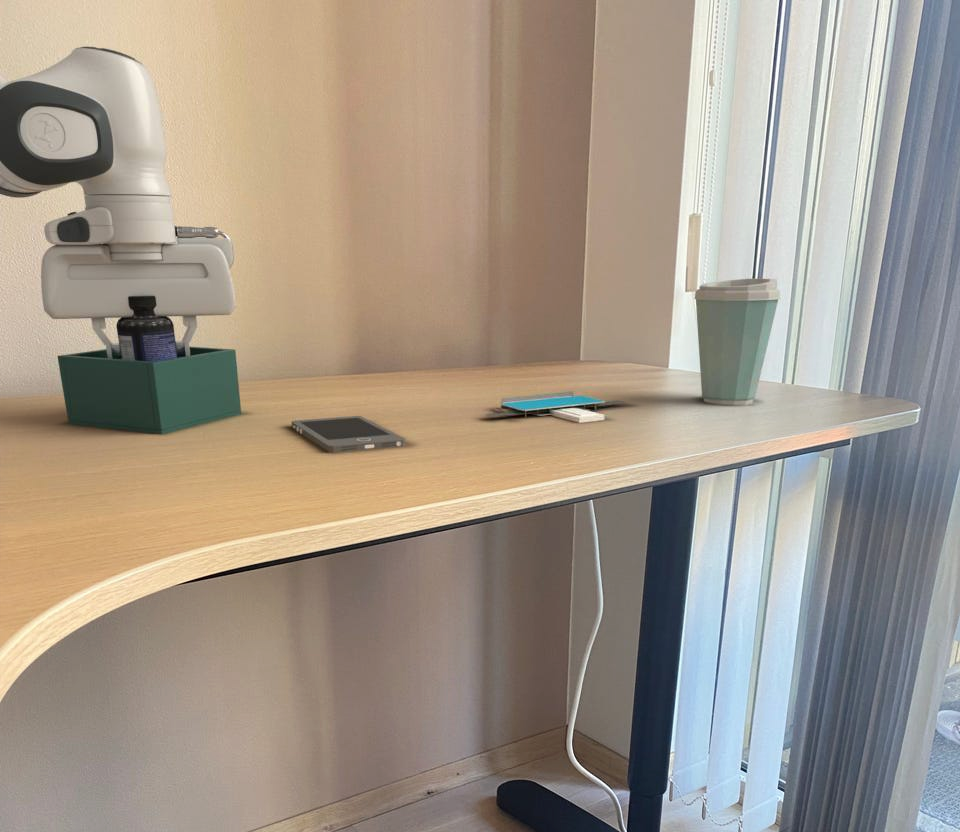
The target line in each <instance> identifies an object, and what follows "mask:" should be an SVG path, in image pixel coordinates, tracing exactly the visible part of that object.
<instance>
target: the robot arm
mask: <svg viewBox="0 0 960 832" xmlns="http://www.w3.org/2000/svg"><path fill="white" fill-rule="evenodd" d="M166 158H167V145H166V136H165V129H164V123H163V116H162V111H161V106H160V100H159V97H158V93H157V88H156V85H155V82H154V79H153V77H152V75H151V73H150V71H149V69H147V67H146V66H145V65H144V64H143V63H142V62H141V61H139V60H137V59H135V57H132V56H130V55H127V54H126V53H123V52H120V51H117V50H113V49H109V48H106V47H105V48H104V47H101V48H100V47H95V46H81V47H76V48H74V49H72V51H71V52H70V54H68V55H67V56H66V57H64V58H63V59H61V60H60V61H58V62H57V63H55V64H52V65H51V66H49V67H47V68H45V69H43V70H40V71H38V72H36V73H33V74H30V75H28V76H24V77H21V78H17V79H14V80H10V81H7V79H5V78H4V76H2V74H1V73H0V195H2V196H5V197H9V198H14V199H15V198H16V199H19V198H20V199H23V198H29V197H33V196H36V195H38V194H40V193H42V192H47V191H51V190H54V189H58V188H62V187H65V186H67V185H69V184H70V183H71V184H72V183H76V184H77V185H80V186H81V188H82V190H83V197H84V205H85V206H84V210H81V211H78V212H77V211H72V212H70V213H67V215H65V216H62V217H59V218H55V219H53V220H50V221H48V222H47V223H45V225H44V227H43V232H44V236H45V240H46V241H47V242H48V243H49V244H51V245H52V246H50V247H49V248H48V249H46V251H45V252H44V254H43V256H42V257H41V258H42V259H41V266H40V281H41V282H40V285H41V286H40V287H41V298H42V306H43V312H45V314H47V316H48V317H50V318H51V319H53V320H72V319H73V320H74V319H76V320H78V319H91V324H92V325H91V327H92V330H93V332H94V333H95V334H96V335H97V337H98V338H99V339H100V341H101V342H102V344H103V345H105V349H106V350H107V357H108V359H122V358H121V354H120V351H121V350H120V344H119V342H112V341H111V339H110V338H109V337H108V336H107V334H106V333H105V331H104V330H105V329H106V328H107V324H106V323H107V322H106V319H114V318H115V319H116V318H117V319H118V318H119V319H120V318H123V317H132V316H133V314H134V312H133V310H131V309H130V307H129V302H128V297H129V296H155V297H156V305H157V306H156V307H155V308H154V313H155V315H156V316H159V317H181V318H182V325H184V327H187V328H186V330H185V332H184V335H183V337H182V339H181V340H175V341H176V349H177V358H179V357H185V356H190V348H189V347H190V343H191V342H192V339H193V337H194V335H195V333H196V330H197V328H198V321H197V317H198V316H199V317H200V316H203V317H205V316H207V317H208V316H230V315H231V314H232V313H234V311H235V309H236V307H237V300H236V293H235V287H234V282H233V278H232V274H231V270H230V269H231V268H232V266H233V265H234V260H235V257H234V245H233V242H232V239H231V238H230V236H228V234H227V233H225V232H223V231H221V230H218V227H214V226H204V227H197V226H176V224H175V215H174V207H173V206H174V205H173V199H172V192H171V189H170V185H169V184H168V181H167V177H166V171H165V170H166V169H165V168H166V167H165V166H166V165H165V164H166ZM219 236H221V237H219Z"/></svg>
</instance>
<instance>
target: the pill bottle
mask: <svg viewBox="0 0 960 832" xmlns="http://www.w3.org/2000/svg"><path fill="white" fill-rule="evenodd" d="M128 302H129V307H130V309H131V310H133V312H134V314H133V316H132V317H123V318H119V319H118V320H117V322H116V333H117V339H118V343H119V344H120V350H121V351H120V354H121V358H122V360H135V361H149V362H154V361H161V360H167V359H173V358H177V349H176V341H177V340H176V334H175V325H174V322H173V321H172V319H171V318H170V317H169V316H166V317H159V316H156V315H155V313H154V308H155V307H156V306H157V305H156V297H155V296H129V297H128Z"/></svg>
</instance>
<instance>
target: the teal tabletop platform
mask: <svg viewBox="0 0 960 832" xmlns="http://www.w3.org/2000/svg"><path fill="white" fill-rule="evenodd" d="M623 403H625V401H624V400H618V399H617V400H610V401H609V400H608V401H605V400H603V399H598V398H594V397H590V396H585V395H574V391H573V390H572V391H564V392H554V393H553V392H551V393H542V394H533V395H532V394H531V395H522V396H521V395H520V396H511V397H502V398H501V399H500V401H499V404H500V407H501V408H497V407H496V408H494V411H496V413H486V414H485V416H488V417H491V418H492V417H493V418H494V417H501V416H508V417H509V416H519V415H525V416H524V417H525V418H527V414H528V415H535V416H537V417H541V416H542V417H543V416H552V417H557V418H560V419H563V420H567V421H572V422H575V423H579V424H580V423H581V424H582V423H589V422H598V421H605V414H602V413H599V412H595V411H591V410H590V409H588V408H594V410H597V407H602V406H611V405H612V406H613V405H614V404H623ZM497 412H498V413H497Z"/></svg>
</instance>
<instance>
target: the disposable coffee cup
mask: <svg viewBox="0 0 960 832" xmlns="http://www.w3.org/2000/svg"><path fill="white" fill-rule="evenodd" d="M693 299H694V300H695V309H696V322H697V325H696V326H697V340H698V353H699V354H698V355H699V372H700V386H701V397H703V402H705V403H707V404H713V405H720V406H747V405H751V404H753V401H754V399H755V398H756V395H757V391H758V387H759V383H760V378H761V373H762V370H763V366H764V361H765V356H766V353H767V349H768V344H769V341H770V336H771V332H772V328H773V323H774V321H775V320H774V319H775V316H776V311H777V307H778V302H779V300H781V290H780V289H779V288H778V279H777V278H741V279H739V278H738V279H729V280H721V281H713V282H708V283H702V284H700V285H699V288H698V289H696V290H695V292H694V298H693Z"/></svg>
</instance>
